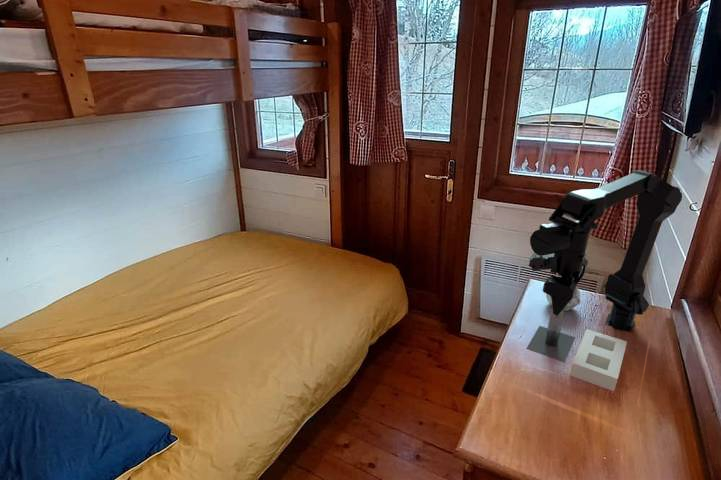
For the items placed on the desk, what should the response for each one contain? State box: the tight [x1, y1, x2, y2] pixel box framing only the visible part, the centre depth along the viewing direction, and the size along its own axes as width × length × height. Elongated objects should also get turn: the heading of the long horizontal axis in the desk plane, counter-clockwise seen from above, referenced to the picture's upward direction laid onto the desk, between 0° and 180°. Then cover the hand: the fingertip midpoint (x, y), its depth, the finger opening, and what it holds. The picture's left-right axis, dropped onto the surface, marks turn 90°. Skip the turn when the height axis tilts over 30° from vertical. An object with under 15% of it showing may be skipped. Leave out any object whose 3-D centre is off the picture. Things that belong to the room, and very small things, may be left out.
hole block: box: [569, 329, 628, 392], centre depth 103 cm, size 16×9×4 cm, turn 144°
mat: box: [525, 325, 576, 363], centre depth 111 cm, size 12×9×1 cm
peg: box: [545, 307, 566, 347], centre depth 109 cm, size 3×3×10 cm
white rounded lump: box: [545, 286, 581, 312], centre depth 124 cm, size 9×10×10 cm
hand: (560, 305), depth 106 cm, fingers open, 9 cm apart
